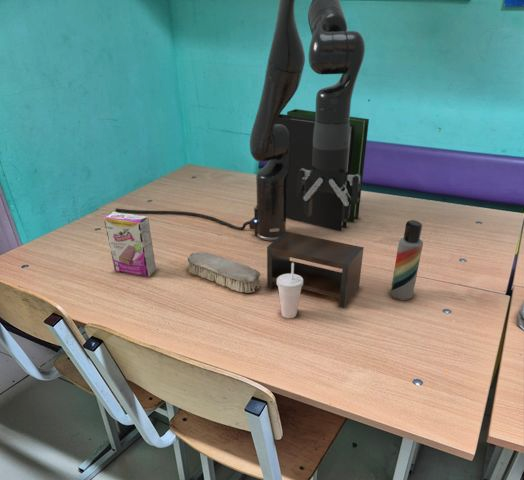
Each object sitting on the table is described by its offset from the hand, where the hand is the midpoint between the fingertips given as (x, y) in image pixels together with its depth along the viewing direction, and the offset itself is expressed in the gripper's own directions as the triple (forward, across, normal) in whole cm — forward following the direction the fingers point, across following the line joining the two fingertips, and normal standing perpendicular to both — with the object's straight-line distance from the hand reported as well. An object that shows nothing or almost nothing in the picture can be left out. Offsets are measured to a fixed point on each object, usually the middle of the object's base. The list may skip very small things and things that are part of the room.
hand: (326, 218), depth 113 cm
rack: (+22, +4, -6) cm, 24 cm away
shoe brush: (+22, +29, -1) cm, 37 cm away
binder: (+22, +21, -54) cm, 62 cm away
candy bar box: (+22, +54, +4) cm, 59 cm away
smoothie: (+23, +6, +8) cm, 25 cm away
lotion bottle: (+23, -18, -12) cm, 31 cm away
